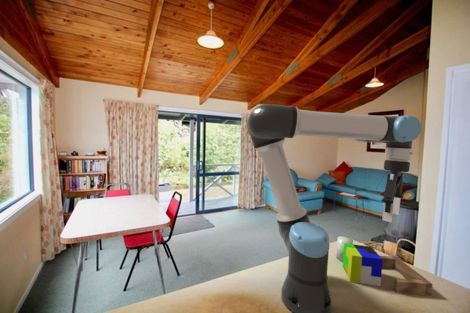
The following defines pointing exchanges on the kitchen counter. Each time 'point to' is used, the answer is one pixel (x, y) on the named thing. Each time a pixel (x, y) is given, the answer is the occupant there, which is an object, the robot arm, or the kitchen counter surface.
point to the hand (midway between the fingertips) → (390, 217)
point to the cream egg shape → (342, 246)
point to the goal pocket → (407, 278)
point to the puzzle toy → (362, 264)
